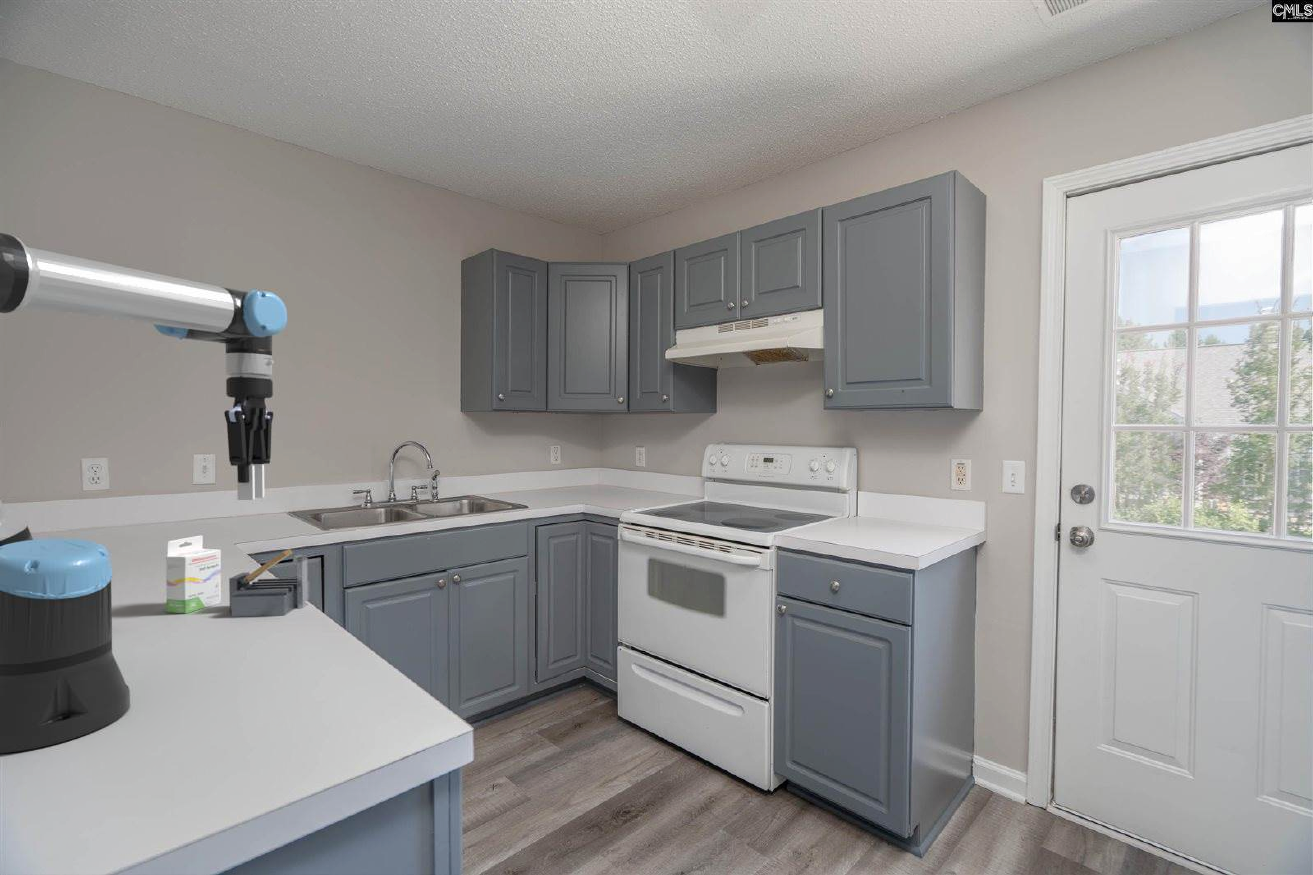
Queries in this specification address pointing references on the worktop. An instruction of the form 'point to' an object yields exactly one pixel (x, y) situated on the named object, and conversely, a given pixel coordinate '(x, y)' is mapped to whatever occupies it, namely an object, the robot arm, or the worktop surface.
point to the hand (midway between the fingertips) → (251, 498)
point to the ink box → (192, 576)
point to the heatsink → (270, 593)
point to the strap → (265, 567)
